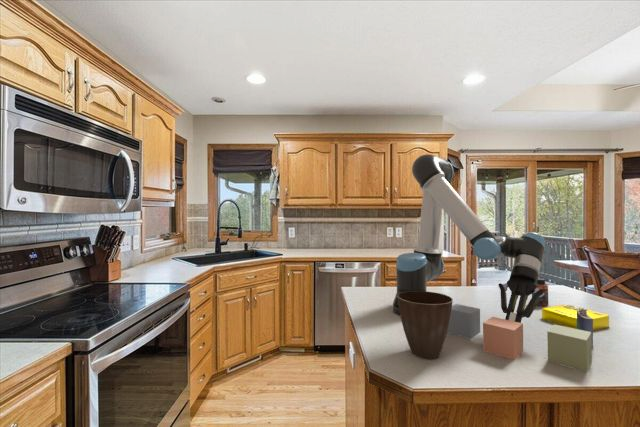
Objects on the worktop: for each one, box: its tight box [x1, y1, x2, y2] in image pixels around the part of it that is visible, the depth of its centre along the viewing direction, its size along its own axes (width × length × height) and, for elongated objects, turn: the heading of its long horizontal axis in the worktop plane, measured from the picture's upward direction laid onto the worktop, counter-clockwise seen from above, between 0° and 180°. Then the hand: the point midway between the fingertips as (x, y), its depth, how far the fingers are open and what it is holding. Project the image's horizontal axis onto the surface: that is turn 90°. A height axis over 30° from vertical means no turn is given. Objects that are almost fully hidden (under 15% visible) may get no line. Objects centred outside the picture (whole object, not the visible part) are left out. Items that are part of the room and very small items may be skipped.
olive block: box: [546, 323, 593, 373], centre depth 82 cm, size 8×8×8 cm
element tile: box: [541, 304, 610, 331], centre depth 112 cm, size 15×15×5 cm
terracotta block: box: [482, 316, 524, 361], centre depth 88 cm, size 8×8×8 cm
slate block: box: [447, 303, 481, 339], centre depth 102 cm, size 8×8×8 cm
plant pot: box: [397, 290, 454, 360], centre depth 87 cm, size 15×15×16 cm
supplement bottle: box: [531, 277, 549, 307], centre depth 134 cm, size 6×6×11 cm
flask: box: [577, 307, 594, 350], centre depth 93 cm, size 9×3×11 cm, turn 151°
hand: (509, 333), depth 92 cm, fingers closed
